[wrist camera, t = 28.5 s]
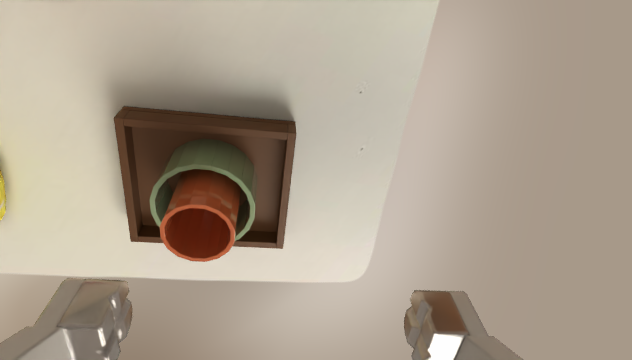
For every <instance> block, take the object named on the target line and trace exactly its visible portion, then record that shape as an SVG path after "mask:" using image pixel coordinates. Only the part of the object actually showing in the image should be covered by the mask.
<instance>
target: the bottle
mask: <svg viewBox="0 0 632 360" xmlns="http://www.w3.org/2000/svg"><path fill="white" fill-rule="evenodd" d="M5 203H6V195H5V189H4V180H3V177H2V174H1V170H0V220H1V219H2V217H3V216H4V213H5V210H6V206H5Z"/></svg>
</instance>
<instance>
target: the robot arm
mask: <svg viewBox="0 0 632 360" xmlns="http://www.w3.org/2000/svg"><path fill="white" fill-rule="evenodd" d="M128 293H129V288H128V282H126V281H120V280H103V279H102V280H101V279H79V278H67V279H66V280H64V281H63V282H62V283H61V285H60V286H59V288H58V289H57V291H56V292H55V294H54V295H53V297H52V298H51V300H50V301H49V303H48V305H47V306H46V308H45V309H44V310H43V312H42V313H41V315H40V317H39V318H38V320H37V321H36V323H35V324H34V326H33V327H25V328H24V329H22V330H20V331H19V332H18V333H16V334H14V335H12V336H11V337H9V338H8V339H6V340H5V341H3V342H1V343H0V360H117V359H118V357H119V354H120V346H119V343H120V342H121V341H122V340H123V339H125V338H126V337H127V334H128V331H129V329H130V325H131V320H132V304H131V302H130V301H129V300H128V299H127V298H126V297H127V295H128ZM410 301H411V304H412V306H411V307H410V308H409V309H408V310H407V311H406V314H405V320H404V329H405V336H406V339H407V342H408V343H409V344H410V345H411V346H412V347H413V348H414V350H413V353H412V359H413V360H523V359H522V358H520V357H519V356H518V355H517V354H515V353H514V352H513V351H512V350H510V349H509V348H508V347H506V346H505V345H504V344H503V343H501V342H500V341H499V340H498V339H496V338H495V337H493V336H488V334H487V332H486V330H485V328H484V326H483V324H482V322H481V320H480V319H479V316H478V315H477V313H476V311H475V309H474V307H473V305H472V303H471V301H470V299H469V297H468V295H467V294H466V293H465V292H464V291H424V290H423V291H421V290H415V291H414V292H413V293H412V295H411V298H410Z"/></svg>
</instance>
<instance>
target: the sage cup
mask: <svg viewBox="0 0 632 360" xmlns="http://www.w3.org/2000/svg"><path fill="white" fill-rule="evenodd" d="M192 169H202V170H212V171H215V172H218V173H221V174H223V175H226V176H227V177H229V178H230V179H232V180H233V181H235V182H236V183H238V185H239V186H240V187H241V188H242V190H243V191H244V192H245V193H246V195H247V198H248V199H247V200H246V201H245V202H244V203H243V204H242V205H241V206H240V207H239V214H238V221H237V228H236V235H235V241H236V240H238V239H240V238H241V237H242V236H243V235H244V234H245V233H246V232H247V231H248V230H249V229H250V227H251V225H252V223H253V221H254V218H255V207H256V194H257V180H258V177H257V174H256V171H255V167H254V165H253V164H252V162H251V161H250V160H249V158H248V157H247V156H246V154H245V153H243V152H242V151H240V150H239V149H238V148H236V147H235V146H233V145H231V144H228V143H225V142H223V141H220V140H212V139H199V140H194V141H189V142H187V143H185V144H183V145H181V146H180V147H178V148H176V149H175V150H174V151H173V152H172V153H171V155H170V156H169V157H168V158H167V160H166V162H165V164H164V166H163V168H162V170H161V172H160V174H159V176H158V178H157V180H156V182H155V184H154V187H153V190H152V193H151V196H150V210H151V214H152V216H153V218H154V220H155V222H156V224H157V225H158V226H159V227H160V224H161V222H162V219H163V217H164V214H165V212H166V209H167V207H168V204H169V202H170V199H171V197H172V194H173V192H172V190H171V188H170V185H169V182H168V178H170V177H172V176H173V175H175V174H177V173H179V172H182V171H187V170H192Z"/></svg>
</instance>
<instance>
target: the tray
mask: <svg viewBox="0 0 632 360" xmlns="http://www.w3.org/2000/svg"><path fill="white" fill-rule="evenodd" d="M114 122H115V129H116V137H117V144H118V151H119V158H120V166H121V173H122V180H123V188H124V195H125V202H126V209H127V217H128V224H129V231H130V239H131V242H138V241H139V242H152V243H163V241H162V239H161V237H160V227H159V226H158V225H157V224H156V222H155V220H154V218H153V216H152V214H151V210H150V196H151V193H152V190H153V187H154V184H155V182H156V180H157V178H158V176H159V174H160V172H161V170H162V168H163V166H164V164H165V162H166V160H167V158H168V157H169V156H170V155H171V153H172V152H173V151H174V150H175V149H176V148H178V147H180V146H181V145H183V144H185V143H187V142H189V141H194V140H199V139H212V140H220V141H223V142H225V143H228V144H231V145H233V146H235V147H236V148H238V149H239V150H240V151H242V152H243V153H245V154H246V156H247V157H248V158H249V160H250V161H251V162H252V164H253V165H254V167H255V171H256V174H257V177H258V180H257V194H256V207H255V218H254V221H253V223H252V225H251V227H250V229H249V230H248V231H247V232H246V233H245V234H244V235H243V236H242V237H241V238H240V239H238V240H236V241H235V242H234V243H233V245H232V246H238V247H259V248H280V249H283V243H284V235H285V226H286V217H287V209H288V200H289V191H290V183H291V174H292V165H293V157H294V148H295V140H296V126H295V122H293V121H282V120H271V119H260V118H248V117H237V116H226V115H215V114H204V113H192V112H181V111H170V110H159V109H148V108H136V107H125V106H124V107H123V108H122V109H121V110H120V111H119V113H118V114H117V115H116V116H115V117H114ZM180 174H181V172H179V173H177V174H175V175H173V176H172V177H170V178H168V182H169V185H170V188H171V190H172V192H174V189H175V187H176V184H177V181H178V179H179V176H180ZM247 199H248V198H247V195H246V193H245V192H244V191H243V190H242V192H241V200H240V206H241V205H242V204H243V203H244V202H245V201H246V200H247Z"/></svg>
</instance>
